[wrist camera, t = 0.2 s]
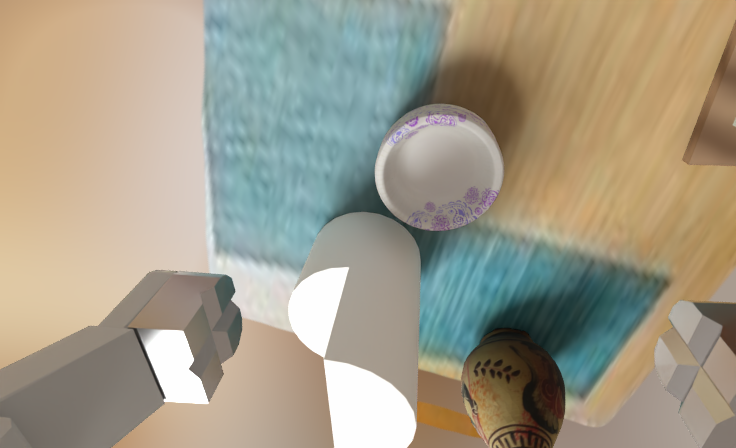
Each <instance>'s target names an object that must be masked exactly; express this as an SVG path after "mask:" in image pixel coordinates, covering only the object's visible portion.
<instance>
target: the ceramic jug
mask: <svg viewBox="0 0 736 448" xmlns="http://www.w3.org/2000/svg"><path fill="white" fill-rule="evenodd" d="M461 388H462V397H463V400H464V404H465V407H466V409H467V412H468V416H469V417H470V419H471V422H472V424H473V425H474V427H475V428H476V430H477V432H478V434H479V435H480V436H481V437H482V439H483V441H484V442H486V444H487V445H488V447H489V448H553V446H554V443H555V441H556V439H557V436H558V434H559V432H560V429H561V426H562V423H563V419H564V414H565V386H564V381H563V378H562V375H561V372H560V370H559V368H558V366H557V364H556V363H555V361H554V360H553V359H552V357H551V356H550V355H549V354H548V352H547V351H546V350H544V349H543V348H542V347H541V346H539V345H538V344H536V343H534V342H533V341H532V339H531V338H530V336H529V334H528V333H526V332H525V331H521V330H516V329H511V328H497V329H494V330H493V331H492V332H491V333H488V334H487V335H485V336H484V337H483V338H482V340H481V342H480V344H479V345H478V346H477V347H476V348H475V349H474V350H473V351H472V352H471V353H470V355H469V356H468V357H467V359H466V361H465V363H464V367H463V372H462V377H461Z"/></svg>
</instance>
